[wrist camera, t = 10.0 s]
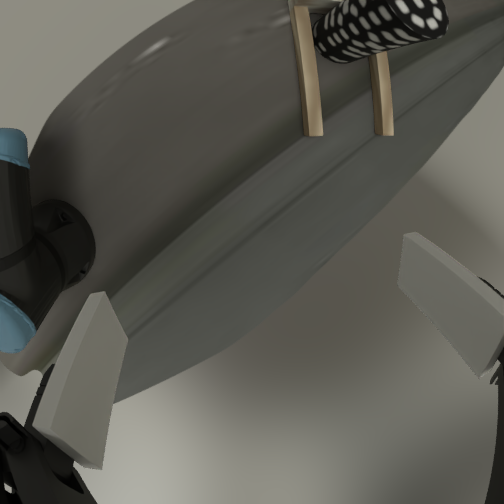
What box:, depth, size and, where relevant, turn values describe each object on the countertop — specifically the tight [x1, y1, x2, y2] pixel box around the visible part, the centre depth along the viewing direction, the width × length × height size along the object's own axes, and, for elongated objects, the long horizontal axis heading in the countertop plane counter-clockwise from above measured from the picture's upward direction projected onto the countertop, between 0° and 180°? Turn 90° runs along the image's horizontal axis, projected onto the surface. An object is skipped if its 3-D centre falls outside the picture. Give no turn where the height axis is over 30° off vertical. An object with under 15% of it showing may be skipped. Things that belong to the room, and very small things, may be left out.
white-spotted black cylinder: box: [312, 0, 449, 63], centre depth 23 cm, size 8×8×20 cm
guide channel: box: [288, 0, 394, 136], centre depth 31 cm, size 14×22×6 cm, turn 6°
